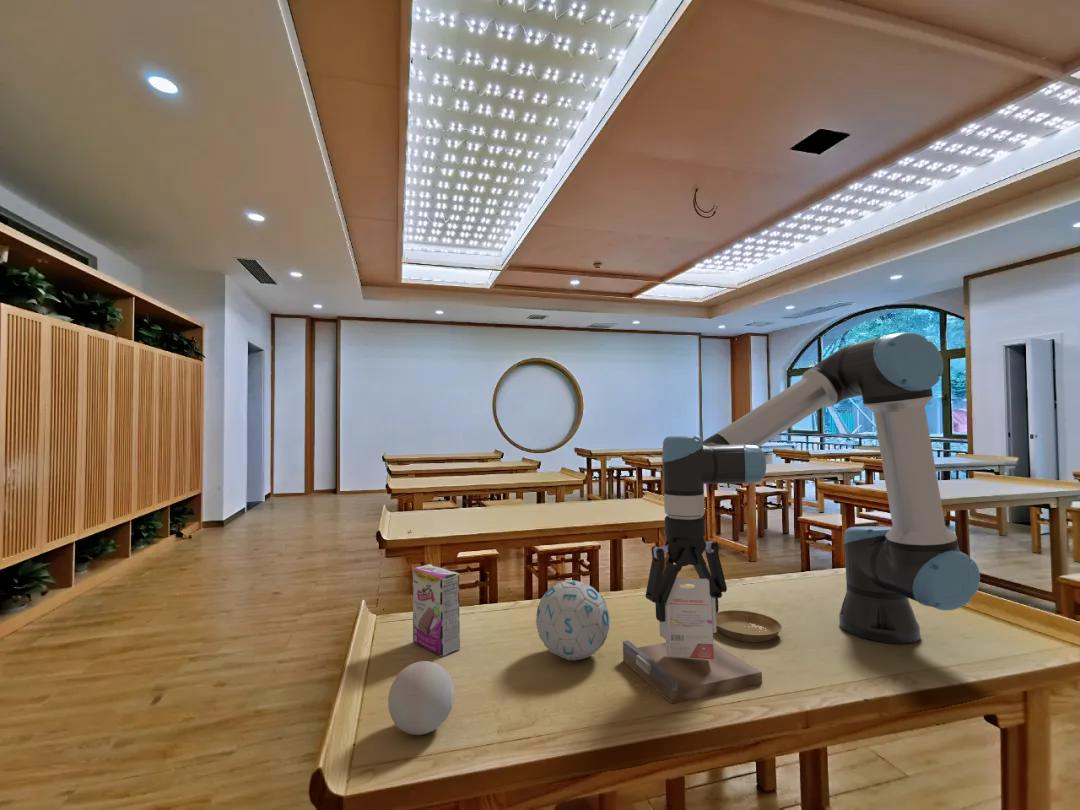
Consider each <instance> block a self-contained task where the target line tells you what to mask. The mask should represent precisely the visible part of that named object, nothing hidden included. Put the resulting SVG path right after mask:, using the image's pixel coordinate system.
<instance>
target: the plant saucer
mask: <svg viewBox="0 0 1080 810" xmlns="http://www.w3.org/2000/svg"><path fill="white" fill-rule="evenodd" d="M750 623H751V624H755V625H756V626H758V625H759V626H762V627H764V628H762V630H760V629H759V627H757V628H755V627H751V626H752V625H751V624H750ZM744 626H745V627H744ZM748 626H749V627H750V628H749V627H748ZM765 628H766V629H765ZM716 629H718V630H719V631H720V632H721V633H722V634H723V635H725V636H727V637H728V638H731V639H732V640H735V641H736V640H737V641H740V642H747V643H764V642H768V641H770V640H772V639H774V638H775V637H776V636H777V635H778V634H779V633H780V632H781V631H782V629H783V626H782V623H780V622H779V621H778V620H777V619H776V618H773V617H771V616H768V615H766V614H763V613H762V614H761V613H758V612H755V611H748V610H741V609H740V610H738V609H737V610H736V609H731V610H730V609H729V610H722V611H718V613H716ZM765 630H767V631H765ZM759 631H760V632H759Z"/></svg>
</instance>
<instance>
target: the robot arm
mask: <svg viewBox="0 0 1080 810" xmlns="http://www.w3.org/2000/svg"><path fill="white" fill-rule="evenodd" d="M943 373H944V359H943V357H942V354H941V352H940V350H939V349H938V347H937V346H936V344H935V343H933V342H932V341H931V340H930V339H927V337H925V336H923V335H922V334H919V333H916V332H909V331H906V332H897V333H890V334H887V335H883V336H879V337H875V338H871V339H867V340H864V341H860V342H859V341H858V342H855V343H854V342H853V343H852V344H848V345H846V346H844V347H842V348H840V349H838V350H837V351H835V352H834V353H832V354H830V355H829V356H827V357H825V358H824V359H822V360H821V361H819V362H818V363H817V364H815V365H813V366H812V367H810V368H809V369H807V370H806V371H805V372H803V373H802V376H801V379H800V380H799V381H797V382H795V383H793V384H792V385H791V386H789V387H787V388H786V389H784V390H782V391H781V392H779V393H778V394H776V395H775V396H773V397H771V398H770V399H768V400H767V401H765V402H764V403H762V404H760V405H759V406H757V407H756V408H754V409H752V410H751V411H749V412H747V413H746V414H745V415H743V416H741V417H739V418H738V419H737V420H735V421H733V422H732V423H730V424H728V425H726V427H724V428H722V429H721V430H719V431H717V432H716V433H715V434H712V435H710V436H709V437H708V438H706V439H704V440H703V439H702V437H701V436H699V435H673V436H672V435H671V436H667V437H665V438H664V439H663V442H662V454H661V455H662V456H661V457H662V458H661V461H662V473H663V474H662V475H663V501H664V502H663V503H664V505H663V506H664V508H663V509H664V514H666V516H665V517H664V535H665V538H666V541H665V543H664V545H662V546H659V547H658V546H656V545H653V546H651V549H650V550H651V555H652V556H651V557H652V559H651V564H650V570H649V576H648V580H647V587H646V591H645V598H646V599H647V600H649V601H650V602H652V603H653V604H655V605H654V606H655V619H656V620H657V621H658V622H659V637H660V638H663V639H664V640H665V641H666V640H667V641H671V614H670V604H668V603H666V602H667V600H668V597H669V595H670V592H671V589H672V587H673V584H674V582H675V579H676V578H678V577H677V576H678V574H679V572H681V570H682V568H683V567H686V566H693V568H694V570H695V571H696V573H697V576H698V578H699V579H708V580H709V589H710V596H711V606H712V627H713V634H715V633H717V627H716V613H718V612H719V609H720V608H719V599H721V598H722V597H723V593H726V592H727V590H728V588H727V584H726V583H727V582H726V579H725V575H724V571H723V567H722V564H721V559H720V556H719V552H720V551H719V550H720V544H719V543H718V542H716V541H712V540H709V539H707V540H706V541H705V538H704V537H705V536H706V519H705V518H704V515H705V513H706V509H705V508H706V507H705V489H704V488H705V485H712V484H713V485H714V484H715V485H716V484H719V485H720V484H722V485H723V484H744V485H746V484H750V483H751V484H753V483H758V482H760V481H762V480H763V478H765V475H766V472H767V459H766V455H765V453H764V451H763V449H761V446H763V445H765V444H767V443H768V442H770V441H771V440H772V439H774V438H776V437H777V436H779V435H780V434H782V433H784V432H785V431H787V430H789V429H790V428H791V427H793V426H794V425H796V424H798V423H799V422H801V421H803V420H804V419H806V418H807V417H809V416H811V415H812V414H814V413H815V412H817V411H819V410H820V409H822V408H823V407H826V408H830V407H831V408H832V407H833V406H835V405H837V404H838V403H841V402H842V401H844V400H848V399H850V398H851V399H852V398H855V397H860V396H861V397H862V403H863V406H864V407H865V408H867V409H869V410H870V411H871V412H872V413H873V417H874V423H875V429H876V434H877V440H878V446H879V453H880V459H881V464H882V470H883V477H884V483H885V488H886V493H887V494H886V495H887V500H888V501H887V502H888V506H889V513H890V518H891V524H892V525H891V526H881V525H880V526H873V525H871V526H865V525H864V526H852V527H848V528H846V530H845V531H844V541H843V546H844V560H845V561H844V562H845V563H844V564H845V565H844V566H845V578H846V579H845V581H846V583H845V584H846V592H845V596H844V599H843V602H842V604H841V608H840V611H839V614H838V618H839V626H840V627H841V628H842V629H843V630H845V631H846V632H848V633H850V634H852V635H854V636H857V637H860V638H864V639H867V640H871V641H874V642H880V643H887V644H913V643H916V642H918V641H919V640H920V639H921V627H920V625H919V624H920V623H918V621H917V618H916V614H915V613H914V609H913V607H912V605H911V603H910V599H911V600H913V601H915V602H918V603H919V604H920V605H922V606H926V607H930V608H933V609H934V608H935V609H937V610H941V611H954V610H958V609H960V608H962V607H964V606H966V605H968V604H969V602H971V599H972V598H973V597H974V596H975V595H976V594H977V592H978V590H979V587H980V581H981V574H980V569H979V565H977V563H976V561H975V560H974V559H972V558H971V557H970V556H969V555H967V553H964V552H963V551H960V546H959V540H958V536H957V534H956V533H954V532H953V531H951V530H950V529H949V528H947V526H946V521H945V517H944V516H945V515H944V510H943V504H942V498H941V493H940V487H939V481H938V476H937V475H938V474H937V470H936V464H935V459H934V458H935V457H934V452H933V447H932V440H931V435H930V433H931V432H930V429H929V424H928V422H929V421H928V417H927V411H926V406H927V404H928V403H929V402H930V401H931V400H932V399H933V398H934V395H933V387H935V386H936V384H938V383H939V381H940V377H941V376H942V375H943ZM704 552H705V557H706V559H707V561H706V560H705V558H704V556H703V553H704ZM667 555H668V557H667ZM665 559H666V560H665ZM707 564H708V567H707Z"/></svg>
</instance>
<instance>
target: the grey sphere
mask: <svg viewBox="0 0 1080 810" xmlns="http://www.w3.org/2000/svg"><path fill="white" fill-rule="evenodd" d="M454 703H455V686H454V682H453V680H452V678H451V676H450V674H449V673H448V671H447V670H446V669H445V668H444V667H443V666H441V665H440V664H438V663H437V662H433V661H427V660H424V661H423V660H422V661H417V662H416V661H415V662H413V663H411V664H409V665H408V666H405V668H403V669H402V670H401V671H400V672H399V673H398V675H397V676H396V677H395V679H394V680H393V682H392V684H391V686H390V689H389V692H388V698H387V707H388V713H389V714H390V717H391V719H392V722H393V723H394V724H395V726H396V727H398V729H399V730H401V731H403V732H404V733H405V734H409V735H413V736H414V735H415V736H421V735H426V734H429V733H432V732H433V731H435V730H436V729H438V728H439V727H440V726H441V725H442V724H443V723H444V722H445V721H446V720H447V718H448V717H449V715H450V713H451V711H452V709H453V707H454Z"/></svg>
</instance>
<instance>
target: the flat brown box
mask: <svg viewBox="0 0 1080 810" xmlns="http://www.w3.org/2000/svg"><path fill="white" fill-rule="evenodd" d="M713 648H714V659H697V658H681V657H668V655H667V648H666V642H662V643H656V644H651V645H647V646H640V647H637V646H636V645H634V644H633V642H631V641H629V640H623V641H622V655H623V656H622V657H623V658H622V659H623V660H622V661H623V662H624V663H625V664H627V665H628V666H629V667H630V668H631V669H632V670H634V672H636V673H637V674H638V675H639V676H640V677H641V678H642V679H643V680H644V681H646V683H648V684H649V685H650V686H652V688H654V689H655V691H657V692H658V693H659V694H661V695H662V696H663V697H664V698H665V700H667V701H668V702H669V703H671V704H676V703H681V702H686V701H689V700H694V699H699V698H703V697H707V696H712V695H716V694H721V693H724V692H729V691H734V690H738V689H739V690H740V689H742V688H746V687H751V686H756V685H761V684H763V672H762V670H759V669H758V668H756V667H755V666H753V665H751V664H749V663H748V662H746V661H744V660H743V659H741V658H739V657H738V656H736V655H734V654H733V653H732V652H730V651H728V650H726V649H724V648H723V647H721V646H720V645H718V644H717V643H715V642H713Z"/></svg>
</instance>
